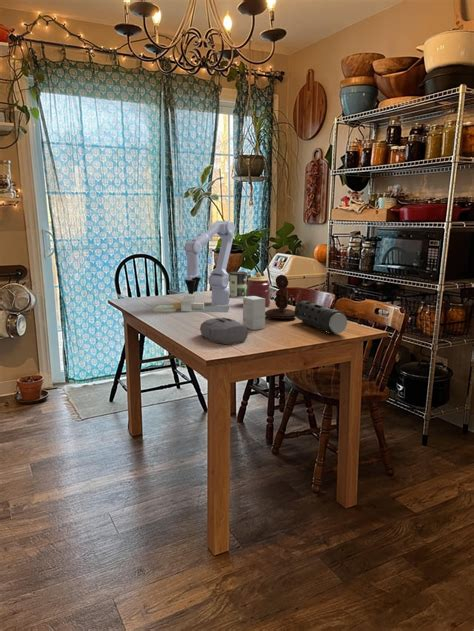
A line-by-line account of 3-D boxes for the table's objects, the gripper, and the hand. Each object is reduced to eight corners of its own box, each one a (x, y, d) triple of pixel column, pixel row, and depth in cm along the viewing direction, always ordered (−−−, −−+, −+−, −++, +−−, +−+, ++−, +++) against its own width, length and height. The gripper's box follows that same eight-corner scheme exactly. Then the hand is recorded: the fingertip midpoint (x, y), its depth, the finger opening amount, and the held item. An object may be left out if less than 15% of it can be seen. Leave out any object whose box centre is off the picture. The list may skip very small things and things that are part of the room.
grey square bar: (194, 305, 252) (194, 296, 251) (191, 311, 238) (191, 301, 237) (185, 305, 253) (184, 296, 252) (181, 311, 238) (181, 301, 237)
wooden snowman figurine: (297, 321, 220) (299, 278, 216) (265, 321, 221) (266, 277, 217) (295, 315, 235) (297, 273, 231) (264, 314, 236) (265, 273, 231)
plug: (204, 308, 246) (204, 302, 246) (203, 309, 244) (203, 303, 243) (172, 307, 247) (172, 301, 247) (171, 308, 244) (171, 302, 244)
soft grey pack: (252, 341, 187) (223, 331, 202) (253, 320, 185) (223, 311, 201) (220, 347, 178) (192, 336, 194) (220, 325, 176) (191, 315, 192)
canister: (244, 307, 252) (244, 273, 248) (246, 302, 264) (247, 270, 261) (269, 308, 250) (270, 274, 247) (270, 303, 263) (271, 271, 259)
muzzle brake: (311, 321, 222) (312, 299, 219) (348, 336, 196) (349, 311, 194) (293, 323, 218) (294, 300, 216) (328, 338, 193) (329, 312, 191)
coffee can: (248, 295, 288) (248, 271, 285) (245, 298, 278) (245, 273, 275) (231, 294, 290) (231, 271, 287) (227, 297, 280) (227, 273, 277)
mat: (229, 306, 253) (229, 306, 253) (228, 313, 237) (228, 312, 237) (158, 305, 253) (158, 305, 253) (152, 312, 238) (152, 311, 238)
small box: (265, 328, 207) (265, 298, 204) (252, 330, 204) (253, 299, 201) (254, 324, 214) (254, 295, 211) (242, 326, 210) (242, 296, 207)
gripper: (197, 267, 233) (197, 295, 236) (204, 264, 247) (204, 290, 250) (182, 266, 234) (183, 294, 237) (190, 264, 248) (190, 290, 251)
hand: (192, 292), depth 243 cm, fingers open, 7 cm apart
